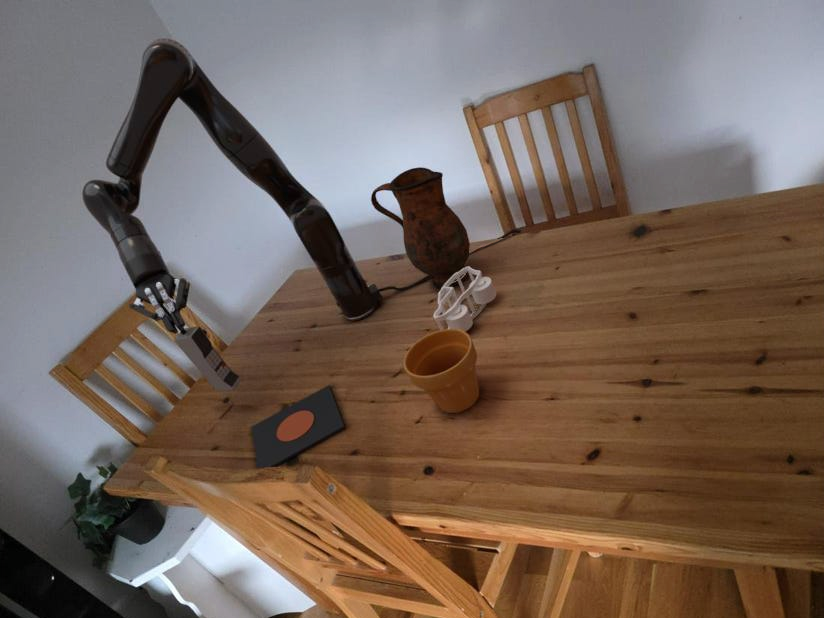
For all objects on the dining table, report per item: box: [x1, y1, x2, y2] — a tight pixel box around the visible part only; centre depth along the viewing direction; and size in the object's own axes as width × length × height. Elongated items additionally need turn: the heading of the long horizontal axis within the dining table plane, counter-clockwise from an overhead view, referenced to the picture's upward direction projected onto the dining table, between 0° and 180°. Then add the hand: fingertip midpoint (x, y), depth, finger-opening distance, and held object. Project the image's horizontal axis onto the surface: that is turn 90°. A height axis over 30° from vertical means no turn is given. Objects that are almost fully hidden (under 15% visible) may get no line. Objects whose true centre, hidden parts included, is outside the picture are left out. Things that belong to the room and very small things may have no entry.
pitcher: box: [370, 166, 471, 290], centre depth 154 cm, size 17×21×30 cm
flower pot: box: [403, 328, 480, 414], centre depth 120 cm, size 14×14×13 cm
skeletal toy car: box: [433, 265, 497, 332], centre depth 144 cm, size 20×11×7 cm, turn 147°
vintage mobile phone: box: [159, 303, 243, 393], centre depth 132 cm, size 4×5×25 cm
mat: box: [251, 384, 346, 469], centre depth 133 cm, size 20×17×1 cm
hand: (178, 330), depth 126 cm, fingers closed on vintage mobile phone, 1 cm apart
